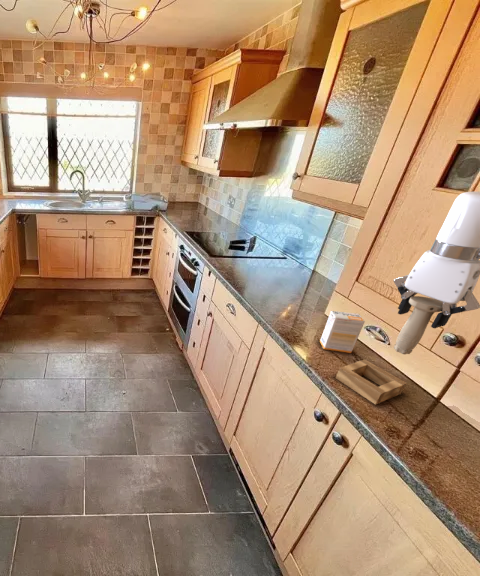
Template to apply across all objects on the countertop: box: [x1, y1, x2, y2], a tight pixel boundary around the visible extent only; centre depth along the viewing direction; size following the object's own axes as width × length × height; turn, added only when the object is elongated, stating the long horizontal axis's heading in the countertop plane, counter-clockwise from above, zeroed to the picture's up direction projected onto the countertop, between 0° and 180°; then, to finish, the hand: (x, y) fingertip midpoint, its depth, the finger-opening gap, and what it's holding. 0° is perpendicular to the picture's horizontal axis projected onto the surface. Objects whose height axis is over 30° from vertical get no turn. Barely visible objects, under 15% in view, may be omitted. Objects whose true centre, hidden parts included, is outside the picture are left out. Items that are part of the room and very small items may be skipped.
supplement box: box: [319, 310, 366, 354], centre depth 104 cm, size 8×5×13 cm, turn 72°
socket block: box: [335, 359, 408, 405], centre depth 89 cm, size 11×11×4 cm
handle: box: [393, 295, 442, 355], centre depth 77 cm, size 5×6×15 cm
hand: (419, 319), depth 76 cm, fingers closed on handle, 6 cm apart
